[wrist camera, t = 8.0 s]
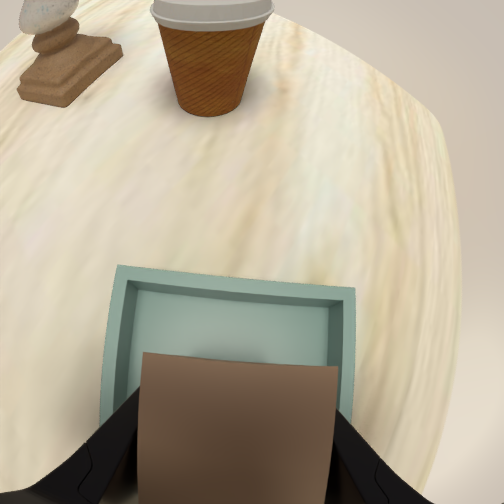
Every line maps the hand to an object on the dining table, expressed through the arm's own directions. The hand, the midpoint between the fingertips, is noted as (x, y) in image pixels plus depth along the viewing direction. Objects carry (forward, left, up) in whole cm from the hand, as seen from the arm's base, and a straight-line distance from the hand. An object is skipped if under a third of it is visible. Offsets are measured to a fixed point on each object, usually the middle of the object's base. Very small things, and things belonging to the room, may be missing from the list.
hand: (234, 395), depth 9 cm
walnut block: (-1, -1, -7) cm, 7 cm away
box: (-1, -1, -9) cm, 9 cm away
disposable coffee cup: (+17, +18, -9) cm, 26 cm away
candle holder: (+10, +37, -9) cm, 39 cm away
